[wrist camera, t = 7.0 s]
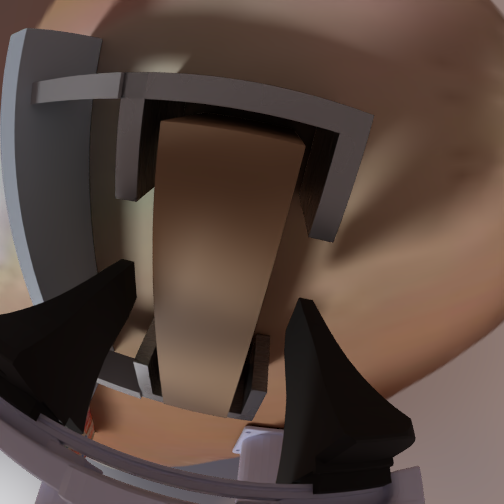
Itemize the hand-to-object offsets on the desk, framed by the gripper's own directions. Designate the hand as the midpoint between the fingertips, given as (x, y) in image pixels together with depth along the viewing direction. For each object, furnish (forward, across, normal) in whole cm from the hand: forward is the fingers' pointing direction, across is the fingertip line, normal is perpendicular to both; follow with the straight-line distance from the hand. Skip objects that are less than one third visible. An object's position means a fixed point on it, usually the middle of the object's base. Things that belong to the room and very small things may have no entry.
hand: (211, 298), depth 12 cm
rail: (+3, 0, 0) cm, 3 cm away
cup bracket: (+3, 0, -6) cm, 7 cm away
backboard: (+3, +6, 0) cm, 7 cm away
